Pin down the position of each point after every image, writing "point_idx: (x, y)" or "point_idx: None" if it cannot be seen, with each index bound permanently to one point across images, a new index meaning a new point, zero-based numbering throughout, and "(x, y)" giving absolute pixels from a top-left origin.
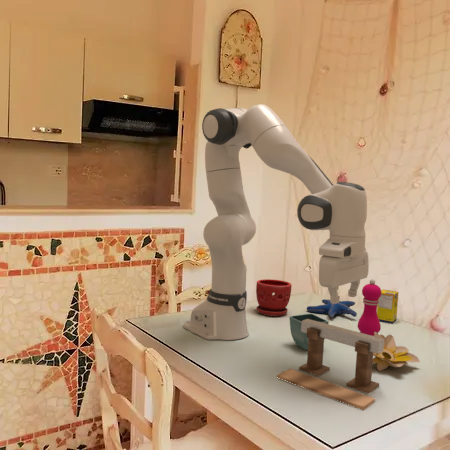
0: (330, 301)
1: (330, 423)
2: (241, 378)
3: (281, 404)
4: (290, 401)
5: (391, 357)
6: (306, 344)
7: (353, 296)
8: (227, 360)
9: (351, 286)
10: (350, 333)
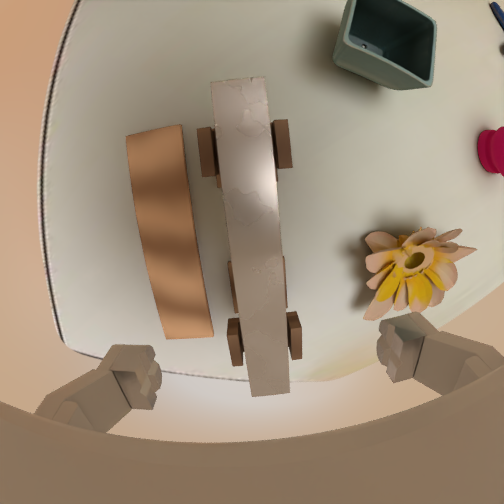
0: (113, 346)
1: (93, 321)
2: (75, 103)
3: (64, 234)
4: (81, 235)
5: (417, 267)
6: (336, 64)
7: (378, 353)
8: (123, 17)
9: (443, 353)
10: (245, 315)
